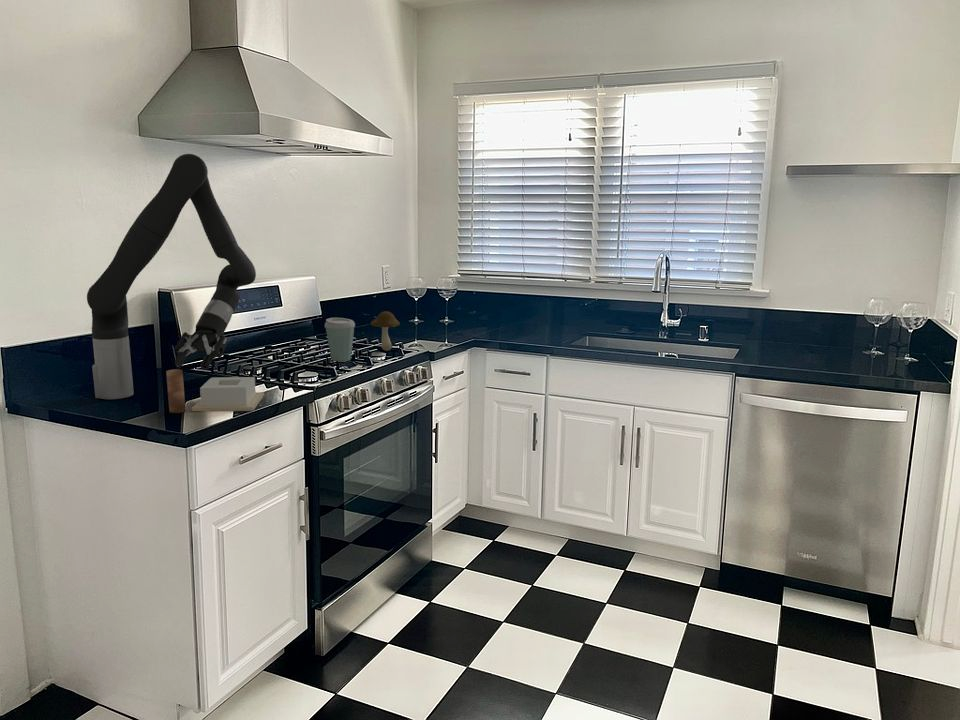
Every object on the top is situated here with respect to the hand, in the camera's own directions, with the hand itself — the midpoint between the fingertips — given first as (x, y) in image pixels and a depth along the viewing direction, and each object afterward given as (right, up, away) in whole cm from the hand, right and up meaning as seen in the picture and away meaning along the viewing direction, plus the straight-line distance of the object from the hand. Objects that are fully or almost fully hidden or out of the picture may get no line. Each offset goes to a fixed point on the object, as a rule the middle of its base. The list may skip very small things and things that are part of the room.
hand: (190, 367), depth 205 cm
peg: (-2, -12, -3) cm, 12 cm away
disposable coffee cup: (+30, +1, +60) cm, 67 cm away
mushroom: (+43, +5, +79) cm, 90 cm away
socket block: (+9, -10, +5) cm, 14 cm away
